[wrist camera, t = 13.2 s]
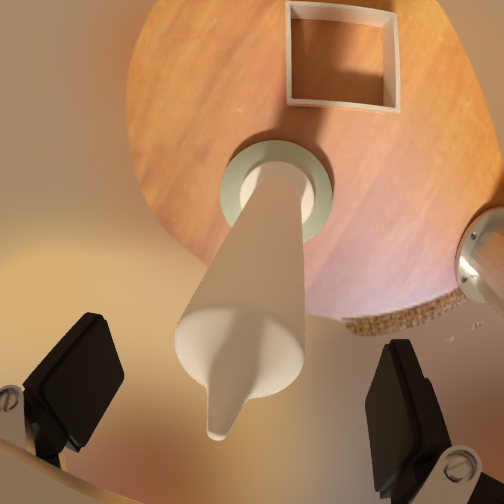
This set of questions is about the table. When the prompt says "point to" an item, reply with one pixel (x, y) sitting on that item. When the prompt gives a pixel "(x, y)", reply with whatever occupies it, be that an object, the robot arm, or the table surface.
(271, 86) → the table surface
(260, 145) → the pale green dome
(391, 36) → the tray
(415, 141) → the table surface
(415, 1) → the table surface
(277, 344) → the candle
